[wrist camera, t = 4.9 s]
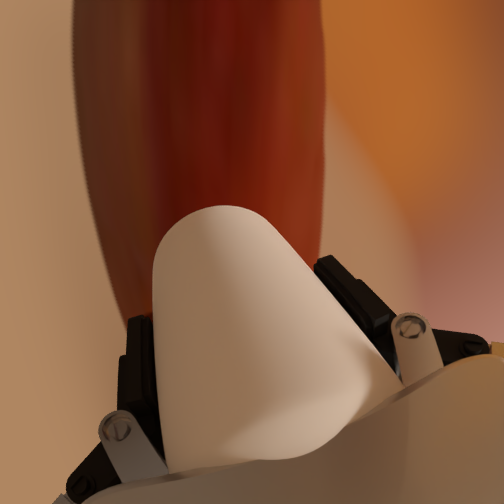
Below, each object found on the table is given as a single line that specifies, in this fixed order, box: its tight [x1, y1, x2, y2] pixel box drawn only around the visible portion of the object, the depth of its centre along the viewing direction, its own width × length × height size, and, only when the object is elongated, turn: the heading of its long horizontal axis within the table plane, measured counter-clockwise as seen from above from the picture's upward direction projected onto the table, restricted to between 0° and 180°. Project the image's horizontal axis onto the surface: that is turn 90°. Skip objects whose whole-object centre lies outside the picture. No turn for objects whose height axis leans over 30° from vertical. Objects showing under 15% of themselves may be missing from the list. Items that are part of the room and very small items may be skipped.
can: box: [153, 206, 405, 474], centre depth 10 cm, size 6×6×12 cm
